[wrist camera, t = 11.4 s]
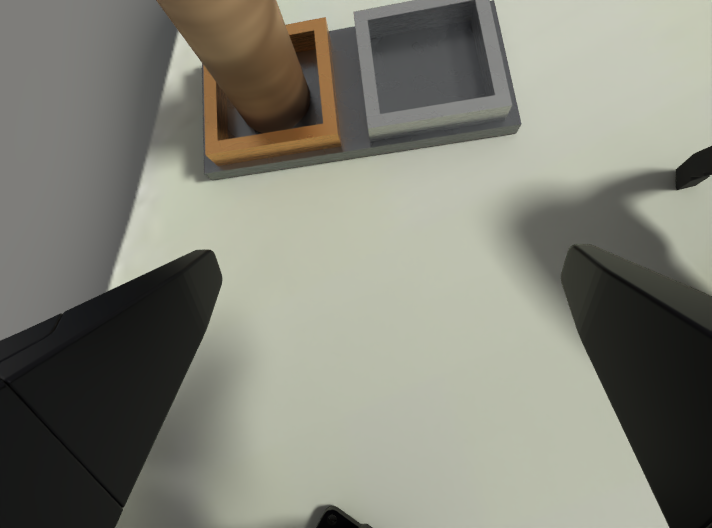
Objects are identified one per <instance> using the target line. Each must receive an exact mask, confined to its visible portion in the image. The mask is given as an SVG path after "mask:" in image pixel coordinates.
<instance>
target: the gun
mask: <svg viewBox="0 0 712 528" xmlns="http://www.w3.org/2000/svg"><path fill="white" fill-rule="evenodd" d="M710 175H712V146H710V147H708V148H706V149H703V150H701V151H699V152H697V153H695V154H693V155H692V156H691V157H690V158H688V159H687V160H686V161H685V162H684V163H683V164H682V165H680V166H679V167H678V168H677V169H676V188H677V190H680V189H684V188H688V187H692V186H696V185H697V184H699V183H700V182H702V181H703V180H705V179H707V178H708V177H710Z"/></svg>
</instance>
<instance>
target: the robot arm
mask: <svg viewBox="0 0 712 528" xmlns="http://www.w3.org/2000/svg"><path fill="white" fill-rule="evenodd" d="M561 282H562V285H563V288H564V292H565V295H566V298H567V301H568V304H569V307H570V310H571V313H572V316H573V319H574V322H575V325H576V328H577V331H578V334H579V336H580V338H581V341H582V343H583V345H584V347H585V349H586V352H587V354H588V356H589V358H590V360H591V362H592V364H593V366H594V369H595V371H596V373H597V375H598V377H599V379H600V381H601V383H602V386H603V388H604V390H605V392H606V394H607V396H608V398H609V400H610V402H611V405H612V407H613V409H614V411H615V413H616V415H617V417H618V419H619V422H620V424H621V426H622V428H623V430H624V432H625V434H626V436H627V439H628V441H629V443H630V445H631V447H632V449H633V451H634V453H635V456H636V458H637V460H638V462H639V464H640V466H641V468H642V470H643V473H644V475H645V477H646V479H647V481H648V483H649V485H650V487H651V489H652V492H653V494H654V496H655V498H656V500H657V502H658V504H659V506H660V509H661V511H662V513H663V515H664V517H665V519H666V521H667V523H668V526H669V528H712V296H710V295H707V294H705V293H703V292H700V291H698V290H696V289H693V288H691V287H689V286H686V285H684V284H682V283H679V282H677V281H675V280H672V279H670V278H668V277H666V276H663V275H661V274H659V273H656V272H654V271H652V270H649V269H647V268H645V267H642V266H640V265H638V264H635V263H633V262H631V261H628V260H626V259H624V258H621V257H619V256H617V255H614V254H612V253H610V252H607V251H605V250H603V249H600V248H598V247H596V246H593V245H590V244H576V245H572V246H571V247H570V248H569V250H568V253H567V256H566V260H565V263H564V266H563V270H562V273H561ZM221 285H222V274H221V271H220V268H219V265H218V262H217V259H216V256H215V254H214V252H213V251H211V250H195V251H193V252H191V253H189V254H186V255H184V256H182V257H180V258H178V259H176V260H174V261H172V262H169V263H167V264H165V265H163V266H161V267H159V268H157V269H154V270H152V271H150V272H148V273H146V274H144V275H142V276H140V277H137V278H135V279H133V280H131V281H129V282H127V283H125V284H122V285H120V286H118V287H116V288H114V289H112V290H110V291H108V292H106V293H103V294H101V295H99V296H97V297H95V298H93V299H91V300H88V301H86V302H84V303H82V304H80V305H78V306H76V307H74V308H71V309H69V310H67V311H65V312H64V313H63V314H59V315H56V316H54V317H52V318H50V319H48V320H46V321H44V322H41V323H39V324H37V325H35V326H32V327H30V328H28V329H27V330H24V331H22V332H20V333H17V334H15V335H13V336H10V337H8V338H6V339H3V340H1V341H0V528H115V526H116V524H117V522H118V520H119V517H120V515H121V513H122V511H123V507H124V506H125V504H126V502H127V500H128V498H129V495H130V493H131V491H132V489H133V487H134V485H135V482H136V480H137V478H138V476H139V474H140V472H141V470H142V467H143V465H144V463H145V461H146V459H147V457H148V455H149V452H150V450H151V448H152V446H153V444H154V442H155V440H156V437H157V435H158V433H159V431H160V429H161V427H162V424H163V422H164V420H165V418H166V416H167V414H168V412H169V409H170V407H171V405H172V403H173V401H174V399H175V397H176V394H177V392H178V390H179V388H180V386H181V384H182V382H183V379H184V377H185V375H186V373H187V371H188V369H189V367H190V364H191V362H192V360H193V358H194V356H195V354H196V351H197V349H198V347H199V345H200V343H201V341H202V339H203V336H204V334H205V332H206V329H207V327H208V324H209V321H210V318H211V315H212V312H213V309H214V306H215V303H216V300H217V297H218V294H219V291H220V288H221ZM329 515H335V516H336V518H337V520H336V521H334V522H333V521H331V520H330V519H329ZM316 528H372V527H371V526H370V525H368V524H360V523H359V522H357V521H356V520H354V519H353V518H352V517H350V516H349V515H348V514H346V513H345V512H343V511H342V510H341V509H339V508H338V507H336V506H330V507H328V508H327V509H326V511H325V512H324V514H323V516H322V518H321V520H320V521H319V523H318V525H317V527H316Z"/></svg>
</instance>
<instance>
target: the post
mask: <svg viewBox="0 0 712 528" xmlns="http://www.w3.org/2000/svg"><path fill="white" fill-rule="evenodd" d="M156 1H157V2H158V3H159V5H160V6H161V7H162V9H163V10H164V11H165V13H166V14H167V16H168V17H169V18H170V20H171V21H172V22H173V24H174V25H175V26H176V28H177V29H178V31H179V32H180V33H181V35H182V36H183V37H184V39H185V40H186V41H187V43H188V44H189V46H190V47H191V48H192V50H193V51H194V52H195V54H196V55H197V56H198V58H199V59H200V61H201V62H202V63H203V65H204V66H205V67H206V69H207V70H208V72H209V73H210V74H211V76H212V77H213V78H214V80H215V81H216V82H217V84H218V85H219V87H220V88H221V89H222V91H223V92H224V93H225V95H226V96H227V97H228V99H229V100H230V102H231V103H232V104H233V106H234V107H235V108H236V110H237V111H238V112H239V114H240V115H241V117H242V118H243V119H244V121H245V122H246V123H247V124H248V125H249V126H250V127H251V128H253V129H254V130H256V131H258V132H261V133H269V132H275V131H281V130H287V129H290V128H292V127H293V126H295V125H296V124H297V123H298V122H299V121H300V120H301V119H302V118H303V117H304V115H305V114H306V112H307V109H308V107H309V103H310V91H309V87H308V85H307V82H306V79H305V77H304V74H303V71H302V68H301V66H300V63H299V60H298V58H297V55H296V52H295V50H294V47H293V44H292V42H291V39H290V36H289V33H288V31H287V28H286V25H285V23H284V20H283V17H282V15H281V12H280V9H279V7H278V4H277V1H276V0H156Z"/></svg>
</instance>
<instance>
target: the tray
mask: <svg viewBox="0 0 712 528" xmlns="http://www.w3.org/2000/svg"><path fill="white" fill-rule="evenodd" d="M354 20H355V27H349V28H344V29H339V30H333V31H329V30H328V26H327V21H326V17H324V18H319V19H314V20H309V21H303V22H298V23H293V24H288V25H286V28H287V31H288V33H289V36H290V39H291V42H292V44H293V47H294V50H295V52H296V55H297V58H298V60H299V63H300V66H301V68H302V71H303V74H304V77H305V79H306V82H307V85H308V87H309V91H310V103H309V107H308V109H307V112H306V114H305V115H304V117H303V118H302V119H301V120H300V121H299V122H298V123H297V124H296V125H295V126H293V127H292V128H290V129H287V130H281V131H275V132H269V133H261V132H258V131H256V130H254V129H253V128H251V127H250V126H249V125H248V124H247V123H246V122H245V121H244V119H243V118H242V117H241V115H240V114H239V112H238V111H237V110H236V108H235V107H234V106H233V104H232V103H231V102H230V100H229V99H228V97H227V96H226V95H225V93H224V92H223V91H222V89H221V88H220V87H219V85H218V84H217V82H216V81H215V80H214V78H213V77H212V76H211V74H210V73H209V72H208V70H207V69H206V67H205V66H204V65H203V63H202V84H203V131H204V174H205V175H206V176H208V177H209V178H210V179H211V180H217V179H223V178H230V177H236V176H243V175H249V174H256V173H262V172H269V171H275V170H282V169H288V168H294V167H301V166H307V165H314V164H320V163H327V162H333V161H340V160H346V159H353V158H359V157H366V156H372V155H379V154H385V153H392V152H398V151H405V150H411V149H418V148H424V147H430V146H437V145H443V144H450V143H456V142H463V141H469V140H476V139H482V138H489V137H495V136H502V135H508V134H515V133H517V131H518V129H519V127H520V126H521V120H520V116H519V111H518V107H517V102H516V98H515V93H514V89H513V84H512V79H511V75H510V70H509V66H508V61H507V57H506V52H505V48H504V43H503V39H502V34H501V30H500V25H499V21H498V16H497V12H496V7H495V3H494V0H493V1H489V0H413V1H408V2H402V3H397V4H392V5H387V6H382V7H376V8H371V9H366V10H361V11H356V12H354Z"/></svg>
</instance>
